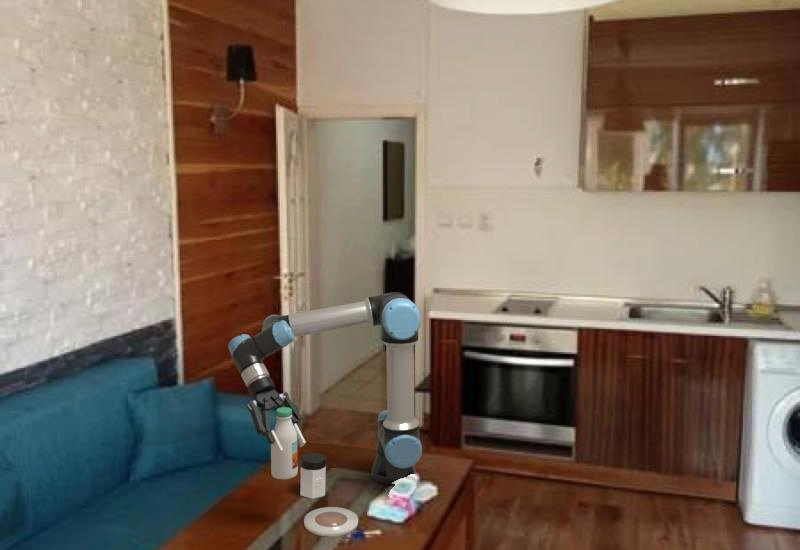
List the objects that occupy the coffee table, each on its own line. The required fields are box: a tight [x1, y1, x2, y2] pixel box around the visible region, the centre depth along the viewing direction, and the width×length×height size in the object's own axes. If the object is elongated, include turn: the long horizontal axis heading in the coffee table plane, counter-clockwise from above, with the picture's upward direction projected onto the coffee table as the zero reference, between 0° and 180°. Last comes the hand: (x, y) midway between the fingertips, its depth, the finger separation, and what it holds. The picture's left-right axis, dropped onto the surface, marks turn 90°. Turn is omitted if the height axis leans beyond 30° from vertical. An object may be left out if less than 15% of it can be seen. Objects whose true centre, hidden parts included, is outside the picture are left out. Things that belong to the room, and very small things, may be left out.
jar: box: [299, 452, 327, 500], centre depth 246 cm, size 9×8×12 cm
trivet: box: [303, 506, 359, 538], centre depth 227 cm, size 16×16×1 cm
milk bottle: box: [270, 406, 299, 480], centre depth 223 cm, size 8×8×20 cm
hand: (291, 448), depth 221 cm, fingers closed on milk bottle, 7 cm apart
